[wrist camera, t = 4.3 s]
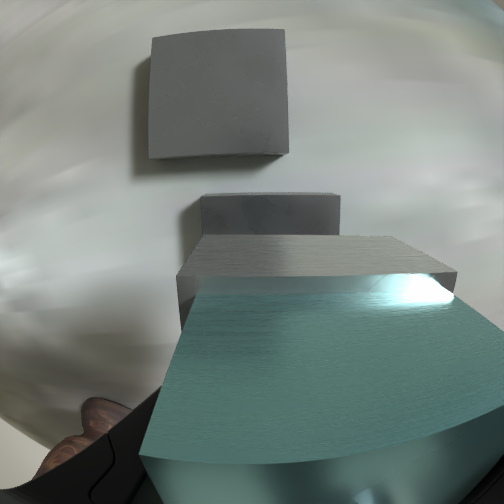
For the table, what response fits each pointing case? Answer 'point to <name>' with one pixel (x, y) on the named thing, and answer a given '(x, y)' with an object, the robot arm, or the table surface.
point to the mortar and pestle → (85, 431)
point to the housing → (324, 377)
